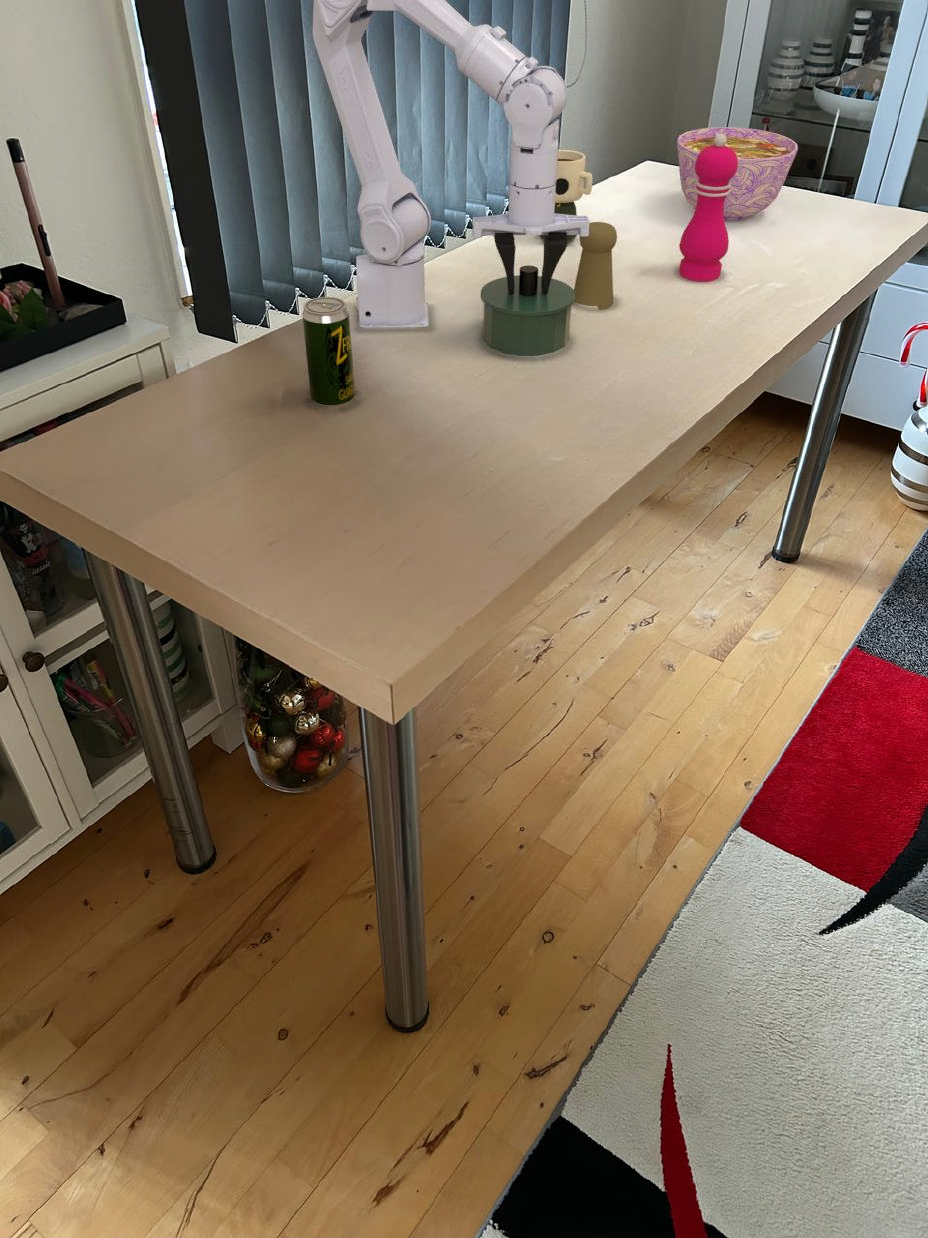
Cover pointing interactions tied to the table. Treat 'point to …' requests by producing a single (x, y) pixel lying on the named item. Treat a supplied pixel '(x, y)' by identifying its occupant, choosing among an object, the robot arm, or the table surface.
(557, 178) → the character mug
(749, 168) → the bowl of food
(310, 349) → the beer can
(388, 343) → the table surface
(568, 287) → the lid
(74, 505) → the table surface
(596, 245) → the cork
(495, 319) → the pot
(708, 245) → the pepper mill
